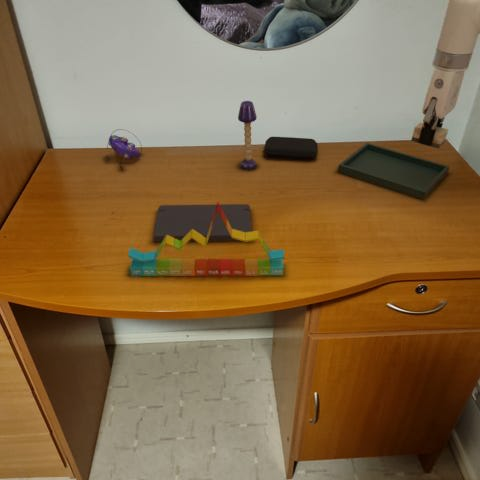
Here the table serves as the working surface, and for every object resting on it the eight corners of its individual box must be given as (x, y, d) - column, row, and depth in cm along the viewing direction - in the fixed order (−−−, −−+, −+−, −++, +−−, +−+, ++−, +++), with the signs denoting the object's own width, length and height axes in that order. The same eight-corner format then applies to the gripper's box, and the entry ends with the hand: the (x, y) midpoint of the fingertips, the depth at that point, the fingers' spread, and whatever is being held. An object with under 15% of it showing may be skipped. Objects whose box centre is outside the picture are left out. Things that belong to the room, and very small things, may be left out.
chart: (131, 276, 96) (118, 210, 86) (133, 266, 99) (121, 201, 88) (282, 276, 96) (288, 210, 86) (281, 266, 99) (286, 201, 88)
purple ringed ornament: (152, 143, 131) (126, 149, 124) (145, 169, 136) (120, 176, 129) (125, 124, 133) (99, 129, 126) (120, 150, 138) (94, 156, 131)
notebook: (154, 242, 105) (251, 240, 105) (153, 236, 104) (251, 234, 104) (159, 210, 114) (249, 209, 114) (158, 205, 113) (249, 203, 113)
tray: (447, 173, 127) (449, 166, 125) (423, 200, 117) (425, 192, 116) (365, 149, 137) (367, 142, 136) (337, 172, 127) (338, 164, 126)
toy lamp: (243, 171, 128) (243, 107, 116) (235, 164, 130) (234, 101, 119) (259, 167, 129) (261, 103, 118) (250, 160, 132) (251, 97, 120)
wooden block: (444, 143, 117) (448, 129, 115) (438, 148, 115) (443, 134, 113) (416, 136, 120) (420, 122, 118) (411, 140, 118) (414, 126, 116)
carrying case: (317, 145, 139) (266, 142, 140) (318, 135, 137) (266, 132, 138) (316, 162, 131) (262, 159, 133) (317, 152, 129) (263, 148, 130)
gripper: (456, 72, 98) (430, 157, 111) (481, 53, 108) (454, 134, 121) (420, 65, 101) (399, 149, 114) (448, 47, 111) (425, 126, 124)
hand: (428, 140), depth 117 cm, fingers closed on wooden block, 3 cm apart
